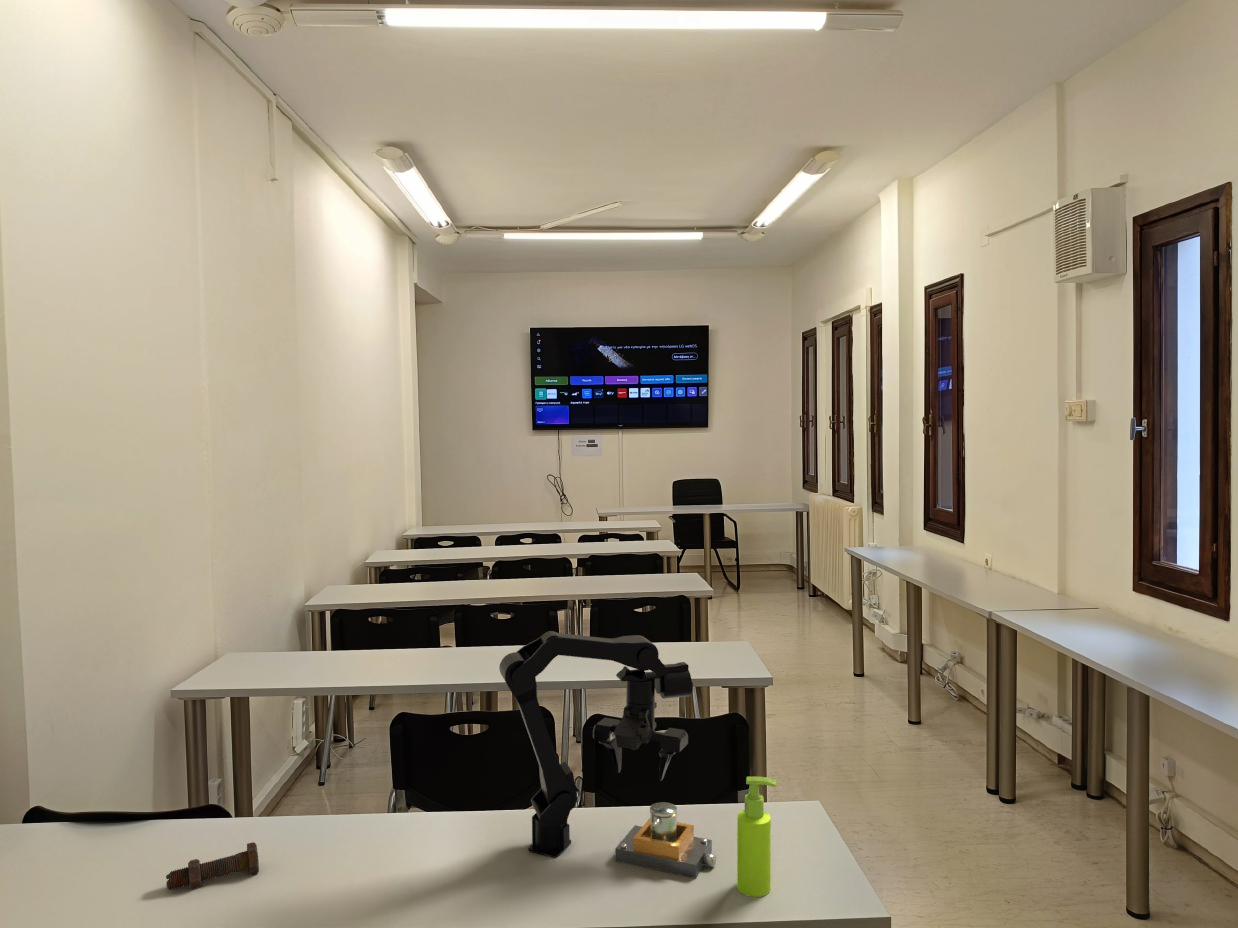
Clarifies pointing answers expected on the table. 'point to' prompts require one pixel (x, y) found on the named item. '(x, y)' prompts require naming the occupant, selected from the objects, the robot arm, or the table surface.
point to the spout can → (663, 822)
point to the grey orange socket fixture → (666, 851)
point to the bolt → (214, 869)
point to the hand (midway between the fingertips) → (639, 776)
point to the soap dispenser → (754, 842)
